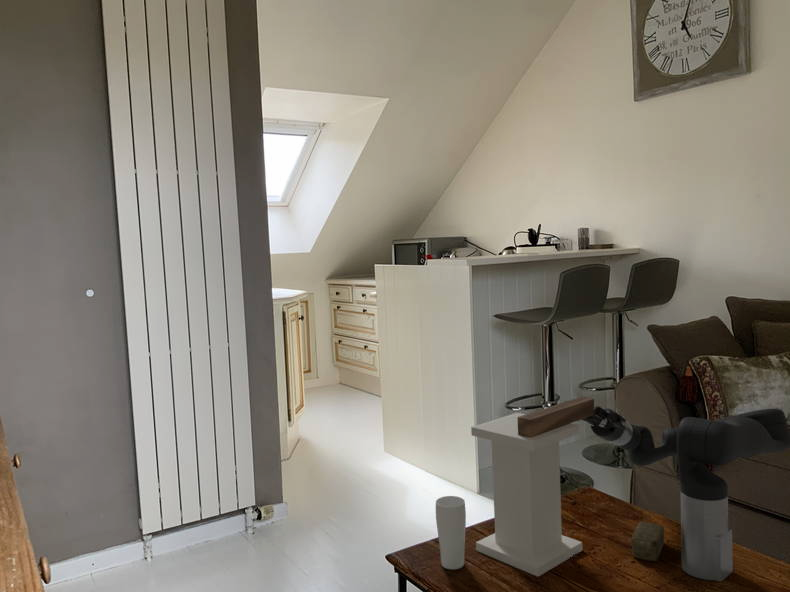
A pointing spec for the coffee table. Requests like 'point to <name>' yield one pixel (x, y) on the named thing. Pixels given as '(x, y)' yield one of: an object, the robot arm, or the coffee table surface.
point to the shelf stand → (526, 497)
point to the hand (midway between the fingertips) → (580, 407)
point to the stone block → (648, 541)
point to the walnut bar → (555, 416)
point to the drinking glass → (451, 530)
